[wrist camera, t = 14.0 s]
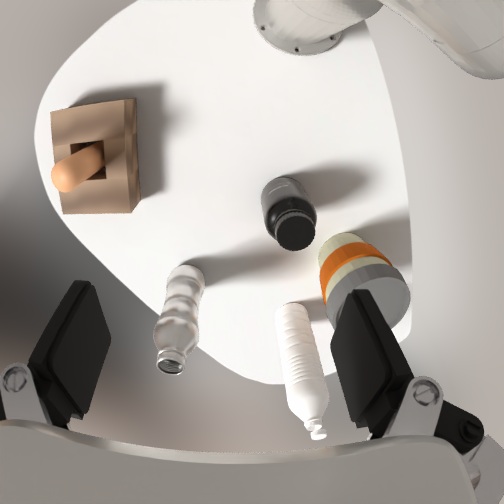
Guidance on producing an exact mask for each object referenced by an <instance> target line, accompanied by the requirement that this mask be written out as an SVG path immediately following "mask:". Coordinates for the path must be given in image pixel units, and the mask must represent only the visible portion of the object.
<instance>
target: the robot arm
mask: <svg viewBox="0 0 504 504" xmlns="http://www.w3.org/2000/svg"><path fill="white" fill-rule="evenodd" d="M383 4H384V5H385V6H387V7H388V8H390V9H391V10H392V11H394V12H397V13H398V14H399V15H400V16H402V17H403V18H404V19H406V20H407V21H408V22H409V23H411V24H412V25H413V26H415V27H416V28H417V29H418V30H419V31H420V32H421V33H423V34H424V35H425V36H426V37H427V38H428V39H429V40H431V41H432V42H433V43H434V44H435V45H436V46H437V47H438V48H439V49H440V50H441V51H442V52H444V53H445V54H446V55H447V56H448V57H449V58H450V59H451V60H452V61H453V62H454V63H455V64H456V65H458V66H459V67H460V68H461V69H463V70H464V71H466V72H467V73H469V74H471V75H473V76H475V77H479V78H482V79H491V80H492V79H501V78H504V0H256V1H255V3H254V7H253V20H254V24H255V26H256V29H257V31H258V32H259V34H260V35H261V37H262V38H263V39H264V40H265V41H266V42H267V43H269V44H270V45H271V46H273V47H274V48H276V49H278V50H280V51H282V52H285V53H288V54H292V55H298V56H308V55H315V54H318V53H321V52H323V51H325V50H328V49H329V48H330V47H332V46H333V45H334V44H335V43H336V42H337V41H338V40H339V38H340V36H341V34H342V31H343V29H345V28H348V27H350V26H352V25H354V24H356V23H358V22H361V21H362V20H365V19H367V18H369V17H371V16H372V15H374V14H375V13H376V12H378V11H379V9H380V8H381V7H382V6H383ZM261 28H265V30H262V29H261ZM330 37H332V40H331V39H330ZM295 49H298V52H296V51H295ZM110 343H111V336H110V332H109V329H108V327H107V324H106V321H105V318H104V315H103V312H102V309H101V306H100V303H99V299H98V296H97V293H96V289H95V287H94V286H93V285H91V283H90V282H89V281H81V280H75V281H74V282H73V283H72V285H71V287H70V288H69V290H68V292H67V293H66V294H65V296H64V298H63V299H62V301H61V302H60V305H59V306H58V308H57V309H56V311H55V312H54V314H53V316H52V318H51V320H50V321H49V323H48V325H47V326H46V328H45V330H44V332H43V334H42V335H41V337H40V339H39V341H38V343H37V345H36V347H35V349H34V351H33V352H32V354H31V357H30V358H29V363H28V365H27V366H26V365H25V364H22V363H15V364H12V365H10V366H8V367H7V368H6V369H5V370H4V371H3V373H2V375H1V377H0V504H499V502H500V500H501V499H502V497H503V495H504V449H503V448H502V447H501V446H500V445H499V444H498V443H497V442H495V440H493V439H492V438H491V437H490V436H489V435H486V436H484V428H483V425H482V423H481V421H480V420H479V419H478V418H477V417H476V416H474V415H472V414H470V413H468V412H466V411H464V410H462V409H460V408H458V407H457V406H454V405H453V404H450V403H449V402H447V401H445V400H443V391H442V388H441V387H440V385H439V384H438V383H437V382H436V381H435V380H433V379H432V378H430V377H426V376H419V377H414V375H413V373H412V372H411V369H410V367H409V365H408V363H407V360H406V358H405V357H404V354H403V352H402V350H401V348H400V346H399V344H398V342H397V340H396V338H395V336H394V334H393V332H392V330H391V328H390V326H389V325H388V324H387V322H386V320H385V318H384V317H383V315H382V313H381V311H380V309H379V307H378V305H377V303H376V302H375V300H374V298H373V296H372V294H371V292H370V291H369V290H368V289H353V290H352V292H351V293H348V294H347V296H346V300H345V303H344V306H343V309H342V312H341V315H340V318H339V320H338V323H337V326H336V329H335V332H334V335H333V337H332V340H331V344H330V348H331V353H332V356H333V359H334V363H335V366H336V369H337V373H338V376H339V379H340V383H341V386H342V390H343V393H344V397H345V400H346V404H347V407H348V411H349V415H350V418H351V420H352V422H355V423H356V426H357V428H362V427H368V428H369V431H370V435H369V437H368V438H367V440H366V441H362V442H356V443H351V444H344V445H338V446H330V447H324V448H315V449H307V450H296V451H284V452H267V453H209V452H192V451H180V450H171V449H162V448H153V447H147V446H139V445H133V444H128V443H123V442H118V441H113V440H108V439H103V438H99V437H95V436H90V435H86V434H82V433H77V432H74V431H73V430H72V428H71V426H70V423H69V422H70V418H71V417H73V418H77V419H80V420H82V419H83V416H84V414H86V413H87V412H88V410H89V407H90V404H91V400H92V397H93V394H94V390H95V387H96V384H97V381H98V378H99V375H100V372H101V369H102V366H103V363H104V360H105V357H106V354H107V352H108V349H109V346H110Z"/></svg>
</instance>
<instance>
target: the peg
mask: <svg viewBox="0 0 504 504" xmlns="http://www.w3.org/2000/svg"><path fill="white" fill-rule="evenodd" d="M103 167H105V155H104V141H99V142H97V143H95V144H92V145H90V146H88V147H86V148H84V149H82V150H80V151H78V152H76V153H74V154H72V155H70V156H68V157H67V158H65V159H63V160H61V161H59V162H57V163H56V164H55V165H54V167H53V169H52V172H51V178H52V182H53V184H54V186H55V187H56V188H57V189H58V190H59V191H61V192H64V193H67V192H70V191H72V190H73V189H74V188H76V187H77V186H78V185H80V184H81V183H82V182H84V181H85V180H86V179H88V178H89V177H91V176H92V175H93V174H95V173H96V172H98V171H99V170H100V169H102V168H103Z"/></svg>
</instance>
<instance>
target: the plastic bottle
mask: <svg viewBox="0 0 504 504" xmlns="http://www.w3.org/2000/svg"><path fill="white" fill-rule="evenodd" d="M204 289H205V280H204V276H203V274H202V272H201V271H200V270H199V269H197V268H196V267H194V266H191V265H181V266H178V267H176V268H175V269H173V270H172V272H171V273H170V275H169V277H168V279H167V293H166V300H165V304H164V307H163V310H162V313H161V315H160V317H159V319H158V322H157V324H156V326H155V329H154V332H153V335H154V341H155V344H156V346H157V348H158V349H159V352H158V357H157V358H158V359H157V368H158V369H159V370H160V371H161V372H163V373H165V374H169V375H178V374H181V373H182V372H183V371H184V368H185V363H186V360H187V355H189V354H190V353H191V352H192V351H193V350H194V349H195V348H196V346H197V344H198V341H199V329H198V307H199V303H200V299H201V297H202V294H203V292H204Z"/></svg>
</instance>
